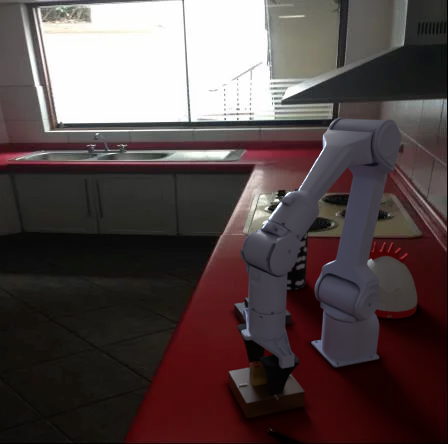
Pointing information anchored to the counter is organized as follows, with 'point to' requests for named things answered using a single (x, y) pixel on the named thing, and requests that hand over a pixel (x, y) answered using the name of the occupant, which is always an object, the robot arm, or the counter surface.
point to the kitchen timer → (393, 283)
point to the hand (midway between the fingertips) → (265, 377)
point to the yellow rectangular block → (257, 373)
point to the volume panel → (263, 395)
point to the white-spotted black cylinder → (299, 266)
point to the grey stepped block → (240, 306)
